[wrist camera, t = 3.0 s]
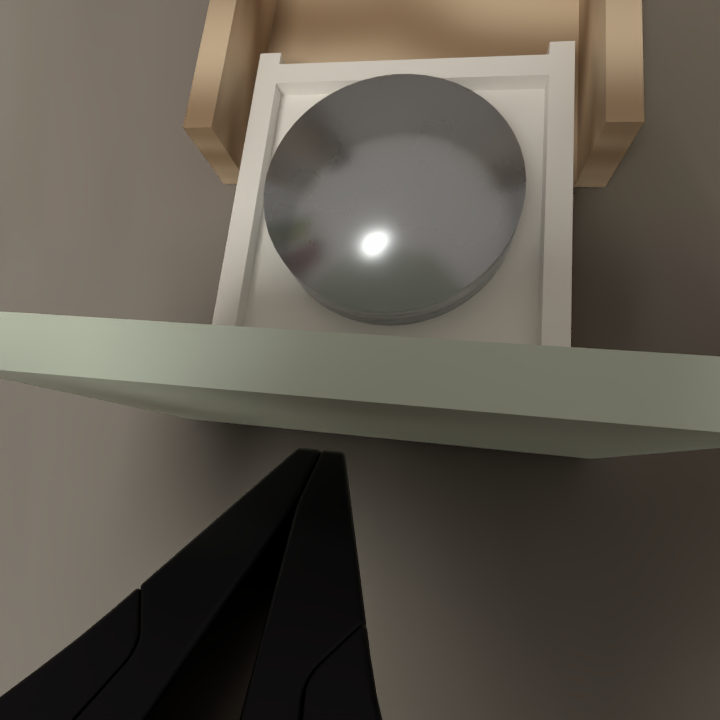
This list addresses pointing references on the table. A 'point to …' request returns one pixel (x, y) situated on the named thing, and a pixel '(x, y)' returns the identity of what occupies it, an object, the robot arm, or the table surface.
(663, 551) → the table surface
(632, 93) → the housing
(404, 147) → the disc
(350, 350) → the drawer
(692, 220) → the table surface
